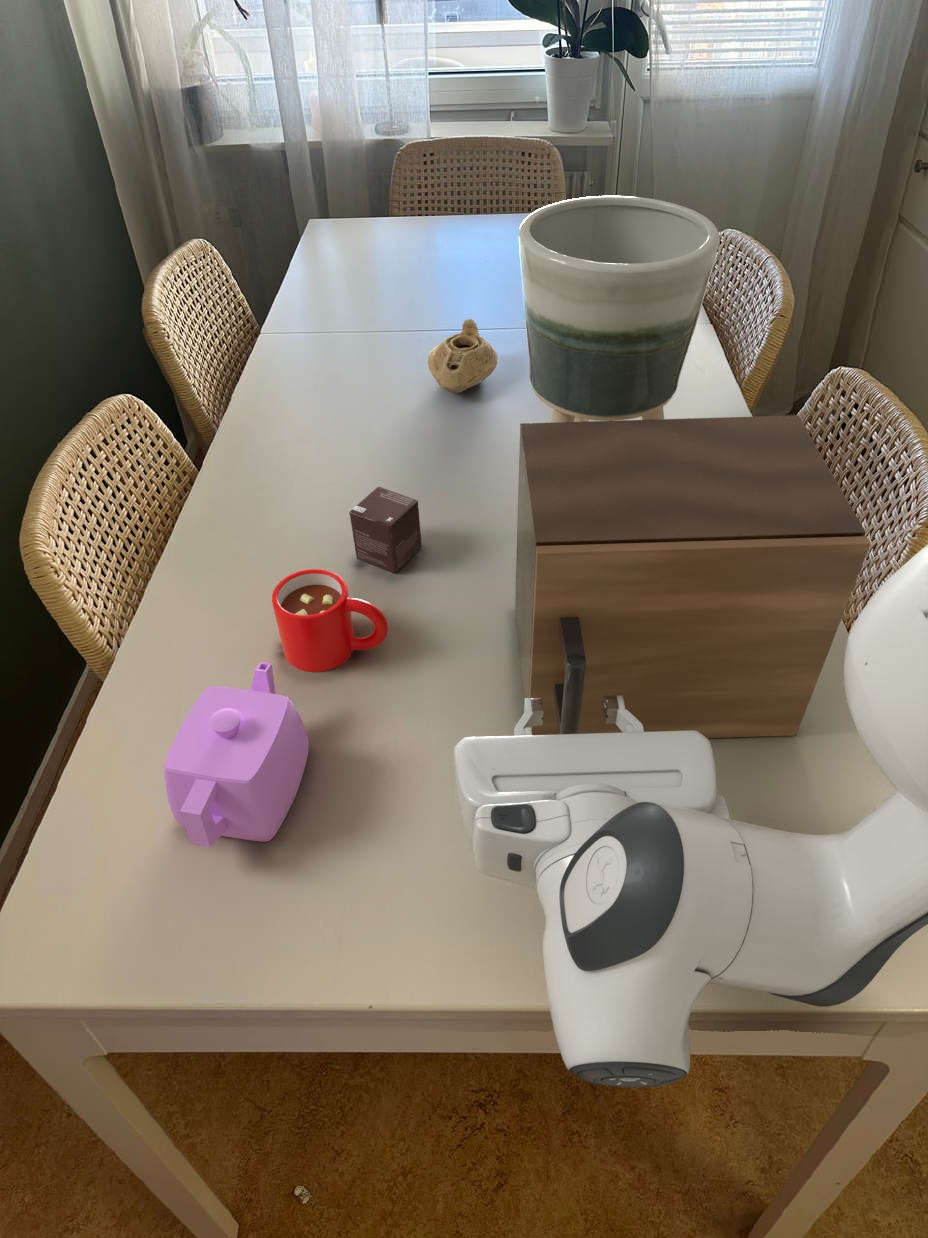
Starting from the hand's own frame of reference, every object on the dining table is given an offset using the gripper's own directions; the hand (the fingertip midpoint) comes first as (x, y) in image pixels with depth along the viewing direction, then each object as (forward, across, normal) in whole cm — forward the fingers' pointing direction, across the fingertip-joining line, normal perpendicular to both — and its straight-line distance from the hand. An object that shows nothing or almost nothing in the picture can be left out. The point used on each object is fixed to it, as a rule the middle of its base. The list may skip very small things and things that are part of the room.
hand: (572, 701), depth 73 cm
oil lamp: (+77, +8, +12) cm, 79 cm away
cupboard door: (+3, -10, +12) cm, 16 cm away
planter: (+49, -9, +12) cm, 52 cm away
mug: (+19, +23, +12) cm, 32 cm away
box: (+35, +18, +12) cm, 41 cm away
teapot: (+1, +30, +12) cm, 32 cm away
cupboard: (+15, -10, +12) cm, 22 cm away
